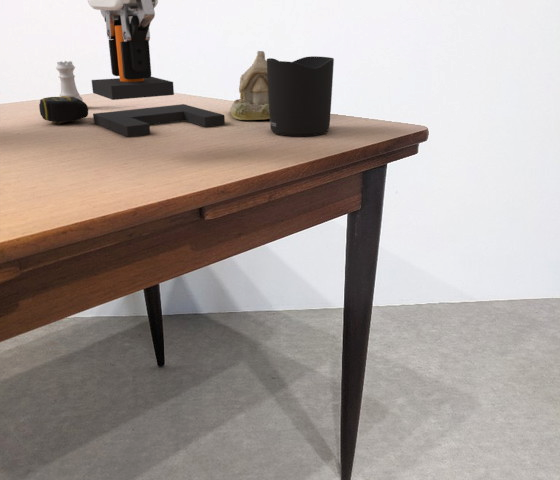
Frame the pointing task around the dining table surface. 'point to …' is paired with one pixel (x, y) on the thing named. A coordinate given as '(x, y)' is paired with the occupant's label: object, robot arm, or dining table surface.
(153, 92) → the orange peg with base
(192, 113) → the black u-shaped block
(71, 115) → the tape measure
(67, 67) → the rook chess piece
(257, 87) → the ceramic model
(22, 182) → the dining table surface
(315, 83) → the pen holder
